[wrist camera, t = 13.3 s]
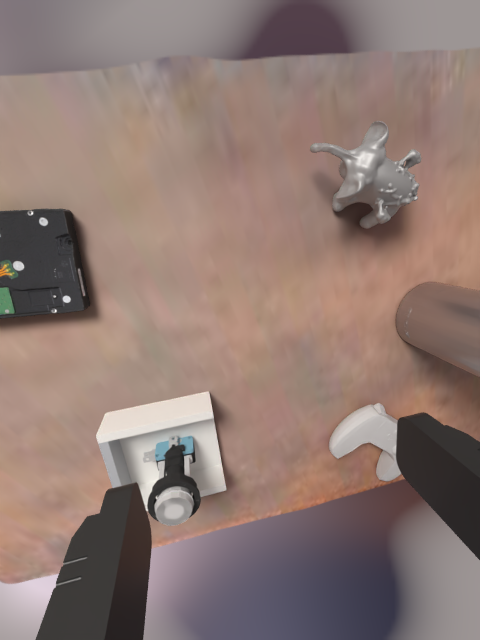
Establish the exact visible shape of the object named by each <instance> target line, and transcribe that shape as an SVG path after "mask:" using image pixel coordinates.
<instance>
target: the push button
mask: <svg viewBox="0 0 480 640" xmlns="http://www.w3.org/2000/svg"><path fill="white" fill-rule="evenodd" d="M172 438H175V439H174V440H171V439H172ZM147 453H149V454H150V455H146V454H147ZM146 458H149V460H146ZM150 461H153V462H155V461H156V463H157V467H158V470H159V480H157V482H156V483H155V484H154V486H153V487H152V492H151V493H150V495H149V498H148V504H147V508H148V511H149V514H150V515H151V516H152V517H153V518H154V519H155V520H157V521H159V522H160V523H162V524H165V525H168V526H171V525H178V524H181V523H183V522H185V521H186V520H187V519H188V518H190V517H191V516H192V515H193V514H194V513H195V512H196V511H197V509H198V508H199V505H200V500H201V499H200V492H199V490H198V488H197V483H196V482H195V481H194V479H193V478H191V468H190V464H192V463H195V461H196V458H195V447H194V442H193V437H192V436H187V437H183V438H178V436H177V435H175V436H171V437H169V441H165V442H160V443H157V444H156V449H152V451H148V452H144V457H143V462H144V463H146V462H150ZM192 493H193V495H192ZM156 496H157V500H156Z"/></svg>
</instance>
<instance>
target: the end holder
mask: <svg viewBox="0 0 480 640" xmlns="http://www.w3.org/2000/svg"><path fill="white" fill-rule="evenodd" d="M175 435H177V436H178V438H183V437H187V436H192V437H193V442H194V447H195V458H196V461H195V463H192V464H190V468H191V478H193V479H194V481H195V482H196V483H197V488H198V490H199V492H200V497H203V496H207V495H211V494H214V493H218V492H222V491H226V485H225V479H224V474H223V468H222V463H221V457H220V451H219V445H218V440H217V434H216V428H215V423H214V416H213V411H212V405H211V400H210V394H209V391H208V392H203V393H198V394H194V395H189V396H184V397H179V398H175V399H170V400H165V401H160V402H155V403H151V404H146V405H141V406H136V407H132V408H127V409H122V410H117V411H113V412H108V413H105V416H104V418H103V420H102V423H101V425H100V428H99V430H98V433H97V435H96V438H97V441H98V444H99V447H100V450H101V453H102V456H103V459H104V462H105V466H106V469H107V472H108V475H109V478H110V481H111V484H112V487H113V488H115V487H119V486H123V485H127V484H131V483H135V482H136V483H138V485H139V488H140V491H141V495H142V498H143V502H144V505H145V508H146V511H148V508H147V504H148V498H149V495H150V493H151V492H152V487H153V486H154V484H155V483H156V482H157V480H159V470H158V467H157V463H156V461H155V462H153V461H150V462H146V463H144V462H143V457H144V452H148V451H152V449H156V444H157V443H160V442H165V441H169V437H171V436H175ZM174 439H175V438H172V439H171V440H174ZM146 455H150V454H149V453H147V454H146ZM146 460H149V458H146ZM192 495H193V493H192ZM156 500H157V496H156Z"/></svg>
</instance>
